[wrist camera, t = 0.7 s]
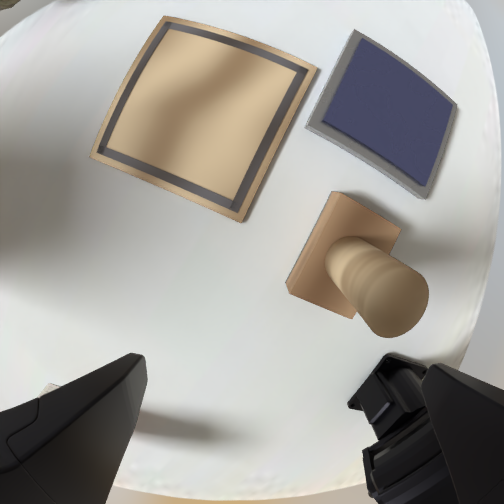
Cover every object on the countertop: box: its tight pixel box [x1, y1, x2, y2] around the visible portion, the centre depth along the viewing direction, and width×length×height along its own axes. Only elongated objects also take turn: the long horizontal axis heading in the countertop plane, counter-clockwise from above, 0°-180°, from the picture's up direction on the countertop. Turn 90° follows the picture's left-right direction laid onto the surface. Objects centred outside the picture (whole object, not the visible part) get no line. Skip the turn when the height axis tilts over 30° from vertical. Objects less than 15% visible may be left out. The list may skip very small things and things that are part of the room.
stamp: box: [285, 191, 429, 338], centre depth 15 cm, size 5×7×9 cm
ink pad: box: [304, 29, 457, 199], centre depth 16 cm, size 10×9×1 cm
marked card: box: [89, 16, 317, 223], centre depth 16 cm, size 12×12×1 cm
